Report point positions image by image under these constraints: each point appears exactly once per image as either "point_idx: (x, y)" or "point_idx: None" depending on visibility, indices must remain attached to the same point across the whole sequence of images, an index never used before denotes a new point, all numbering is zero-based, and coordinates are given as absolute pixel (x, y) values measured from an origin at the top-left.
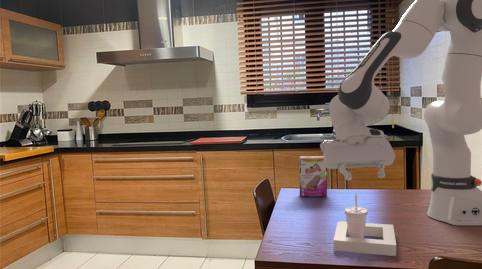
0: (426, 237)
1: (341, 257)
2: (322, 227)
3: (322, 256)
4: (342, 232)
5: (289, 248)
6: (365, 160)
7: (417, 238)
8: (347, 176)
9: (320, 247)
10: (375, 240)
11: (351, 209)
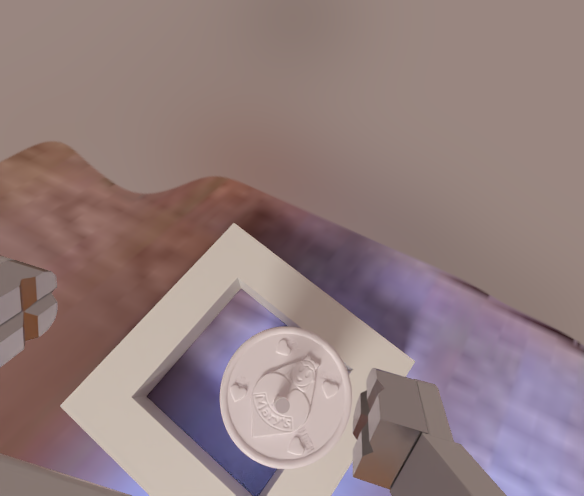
0: None
1: (400, 304)
2: None
3: (457, 339)
4: None
5: (553, 464)
6: (7, 458)
7: None
8: (432, 386)
9: None
10: (268, 286)
11: (309, 408)
